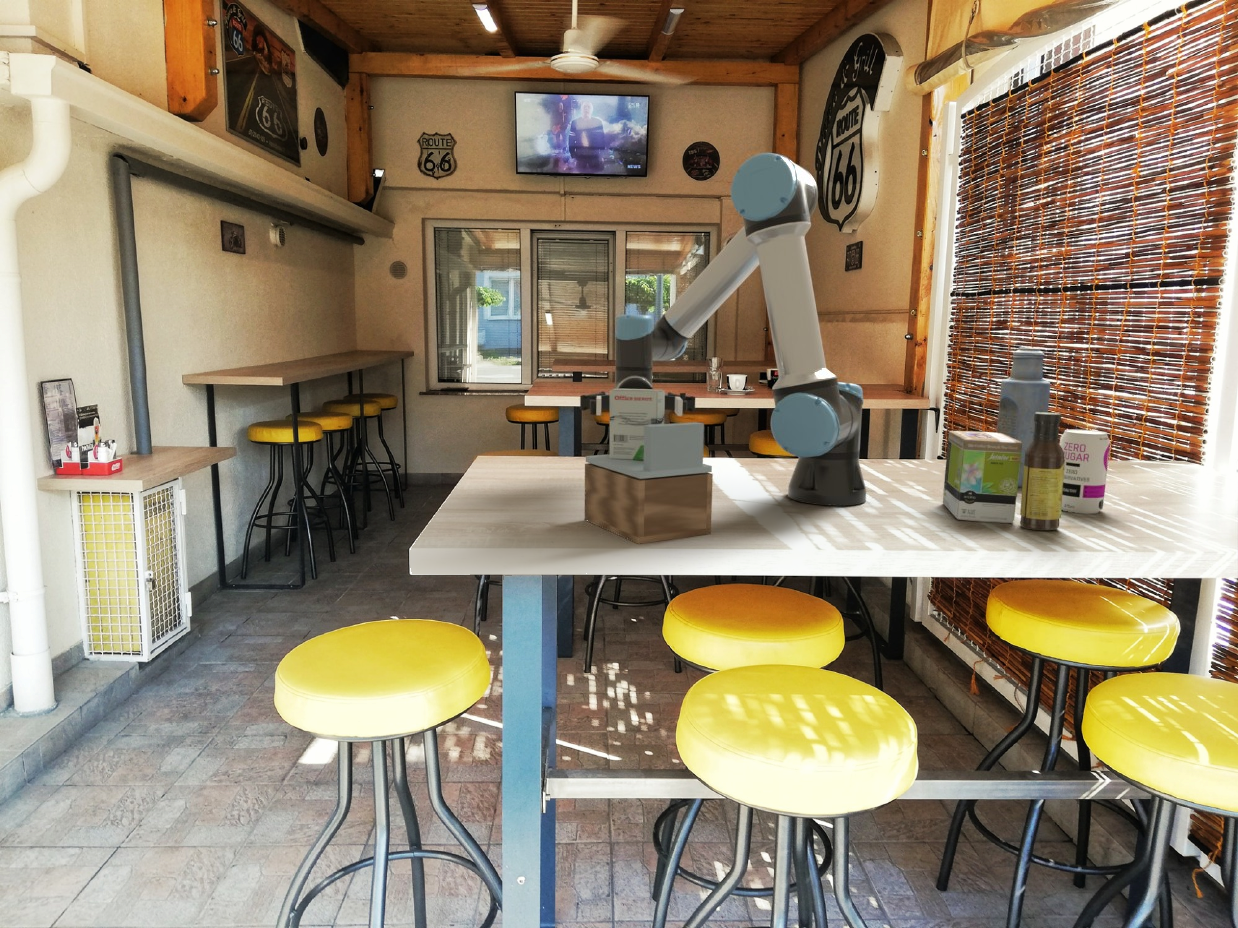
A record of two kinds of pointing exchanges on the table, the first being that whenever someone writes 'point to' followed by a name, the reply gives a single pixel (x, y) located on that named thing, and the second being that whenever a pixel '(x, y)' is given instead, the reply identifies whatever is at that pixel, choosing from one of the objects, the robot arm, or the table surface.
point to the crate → (648, 504)
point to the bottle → (1023, 399)
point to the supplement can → (1084, 470)
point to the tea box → (982, 476)
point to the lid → (663, 453)
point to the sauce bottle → (1043, 475)
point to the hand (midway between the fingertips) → (639, 407)
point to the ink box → (633, 420)
